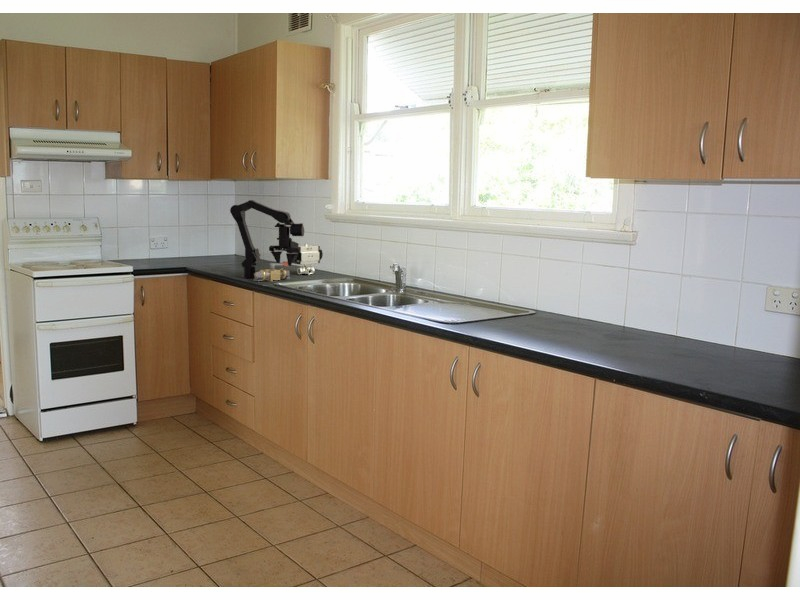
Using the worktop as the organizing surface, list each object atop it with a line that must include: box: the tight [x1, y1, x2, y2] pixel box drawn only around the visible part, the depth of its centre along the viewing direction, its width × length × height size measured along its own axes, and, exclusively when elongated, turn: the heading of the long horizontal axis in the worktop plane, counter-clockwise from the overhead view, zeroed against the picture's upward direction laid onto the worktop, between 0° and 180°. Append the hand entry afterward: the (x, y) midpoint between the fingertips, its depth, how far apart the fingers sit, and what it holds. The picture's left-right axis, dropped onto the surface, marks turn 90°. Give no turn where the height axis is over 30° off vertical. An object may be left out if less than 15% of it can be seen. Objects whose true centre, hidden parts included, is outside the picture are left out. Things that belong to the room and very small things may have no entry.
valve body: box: [253, 267, 291, 282], centre depth 377 cm, size 20×6×6 cm, turn 136°
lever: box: [268, 260, 290, 270], centre depth 379 cm, size 12×4×4 cm, turn 119°
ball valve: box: [292, 242, 324, 276], centre depth 402 cm, size 18×8×18 cm, turn 131°
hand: (284, 265), depth 382 cm, fingers open, 9 cm apart
